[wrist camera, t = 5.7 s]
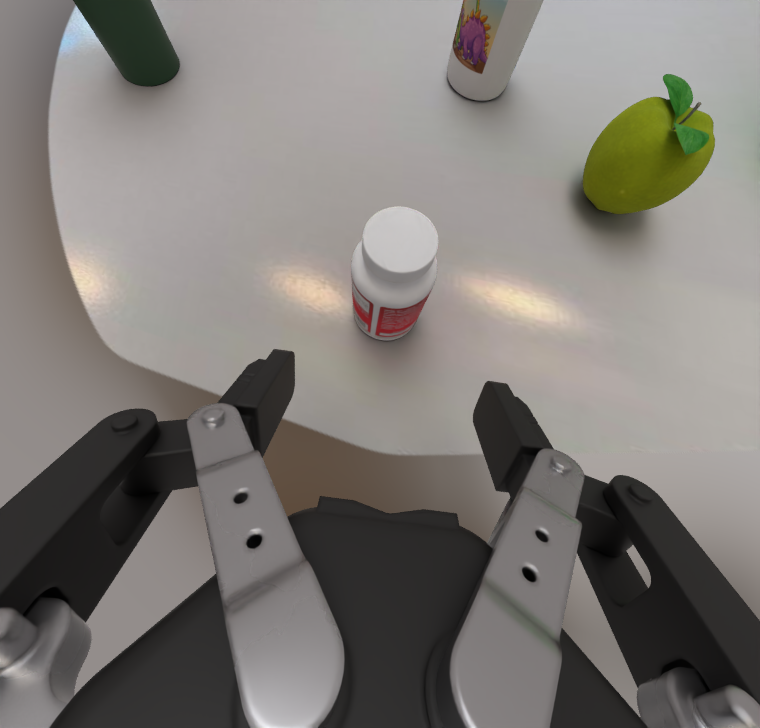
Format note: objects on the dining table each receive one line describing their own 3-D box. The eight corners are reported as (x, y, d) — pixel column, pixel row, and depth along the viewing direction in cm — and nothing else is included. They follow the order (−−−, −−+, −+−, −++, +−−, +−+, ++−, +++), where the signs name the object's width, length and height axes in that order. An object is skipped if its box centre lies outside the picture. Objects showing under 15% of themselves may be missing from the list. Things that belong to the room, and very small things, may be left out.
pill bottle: (426, 300, 29) (466, 221, 18) (400, 353, 28) (427, 301, 17) (370, 273, 29) (377, 180, 18) (341, 324, 28) (331, 255, 17)
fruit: (562, 224, 32) (649, 134, 23) (565, 158, 35) (646, 51, 25) (641, 242, 33) (761, 161, 23) (639, 175, 35) (748, 75, 25)
